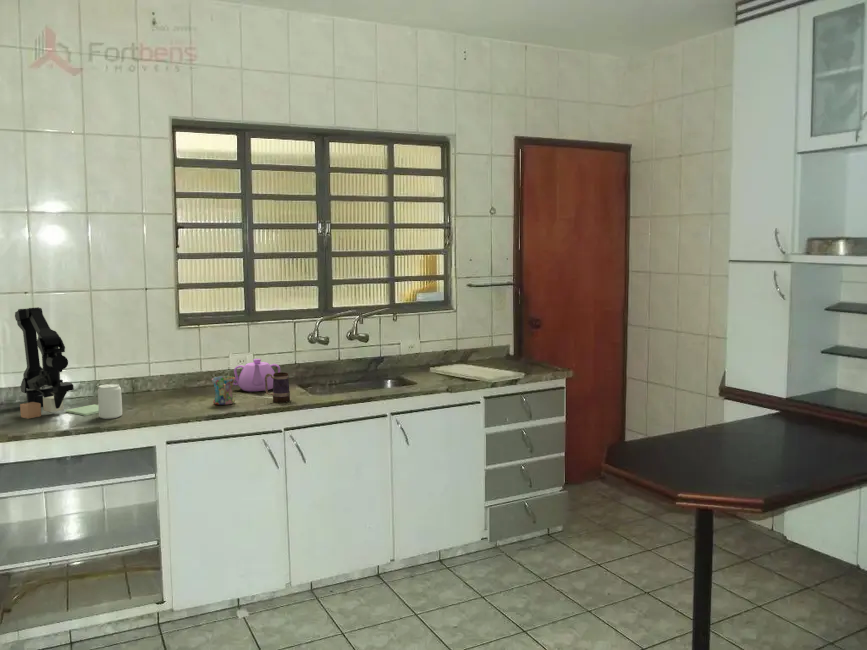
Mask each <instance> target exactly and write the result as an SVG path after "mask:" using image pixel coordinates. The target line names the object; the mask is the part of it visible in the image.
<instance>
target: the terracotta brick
mask: <svg viewBox="0 0 867 650" xmlns="http://www.w3.org/2000/svg"><path fill="white" fill-rule="evenodd" d="M19 409H20V418H24V419H28V420H29V419H32V418H34V419H35V418H38V417H41V416H42V406H41V403H36V402H30V403H27V402H25V403H20V404H19Z"/></svg>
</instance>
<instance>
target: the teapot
mask: <svg viewBox="0 0 867 650" xmlns="http://www.w3.org/2000/svg"><path fill="white" fill-rule="evenodd" d="M252 360H253V362H248V363H246V364H245V365H241V364H239V365H236V366H235V367H234V369H233V373H234V376H235V380H234V383H233V386H238V387H239V388H240V389H241V390H242V391H245V392H248V393H249V392H250V393H251V392H266V388H265V376H266V375H267V374H271V375H272V376H273V375H274V373H276V372H275V370H274V368H273V367H277V373H279V372H282V369H281V366H280V365H279V364H277V363H271V364H270V363H269V362H266V361H262V359H261V358H254V359H252ZM239 368H240V369H241V368H242V369H241V371H240V374H239V376H238V372H237V371H238V370H237V369H239ZM267 388H268V391H269V390H273V378H271V376H269V377H268V378H267Z"/></svg>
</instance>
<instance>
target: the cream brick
mask: <svg viewBox="0 0 867 650" xmlns="http://www.w3.org/2000/svg"><path fill="white" fill-rule="evenodd" d="M42 408H43V412H49V413H55V412H59V411H63V410H64V409H65V407H64V400H63V401H62V403H61V405H60V407H59V408H56V406H55V401H54V395H53V396H50V397H45V398H44V397H43V406H42ZM64 411H65V410H64Z"/></svg>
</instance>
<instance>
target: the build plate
mask: <svg viewBox="0 0 867 650" xmlns="http://www.w3.org/2000/svg"><path fill="white" fill-rule="evenodd" d="M65 412H66V413H69V414H75V415H79V416H85V417H86V416H90V415H95V414H99V407H98V404H89V405H84V406H79V407H75V408H70V409H66V410H65Z"/></svg>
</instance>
